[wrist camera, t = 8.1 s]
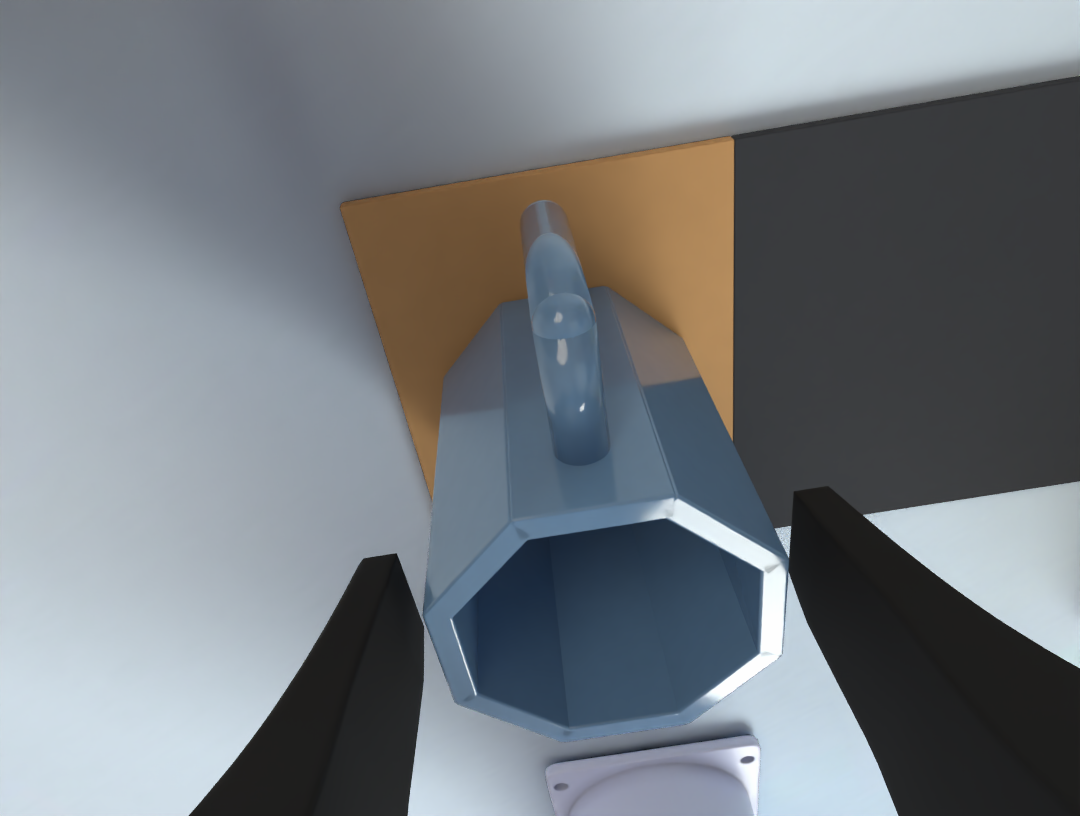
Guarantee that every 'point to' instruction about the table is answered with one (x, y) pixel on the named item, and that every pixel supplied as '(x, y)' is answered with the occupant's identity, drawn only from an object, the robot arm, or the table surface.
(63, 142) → the table surface
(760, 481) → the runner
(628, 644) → the mug
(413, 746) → the robot arm
